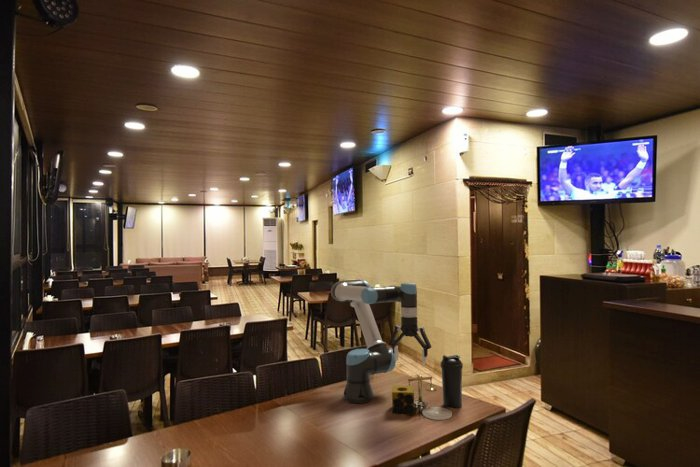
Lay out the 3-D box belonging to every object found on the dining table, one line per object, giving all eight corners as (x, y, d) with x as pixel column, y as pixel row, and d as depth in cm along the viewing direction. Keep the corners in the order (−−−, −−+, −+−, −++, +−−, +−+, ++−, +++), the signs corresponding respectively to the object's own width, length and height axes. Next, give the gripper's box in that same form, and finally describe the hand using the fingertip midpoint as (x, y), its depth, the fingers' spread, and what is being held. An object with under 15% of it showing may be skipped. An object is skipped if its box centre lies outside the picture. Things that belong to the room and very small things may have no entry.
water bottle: (466, 409, 192) (464, 358, 193) (443, 409, 192) (442, 358, 193) (460, 401, 202) (459, 353, 203) (439, 401, 202) (438, 353, 203)
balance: (402, 403, 200) (402, 374, 201) (406, 399, 205) (406, 371, 205) (434, 409, 192) (434, 378, 193) (438, 405, 196) (437, 376, 197)
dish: (418, 416, 184) (418, 413, 184) (428, 407, 195) (428, 404, 195) (446, 422, 177) (446, 419, 177) (455, 412, 188) (455, 409, 188)
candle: (414, 406, 195) (413, 385, 196) (415, 415, 185) (414, 392, 186) (392, 406, 196) (391, 384, 197) (392, 414, 186) (391, 391, 187)
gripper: (381, 315, 197) (382, 360, 196) (432, 319, 186) (433, 367, 184) (387, 313, 204) (388, 357, 203) (437, 316, 192) (438, 363, 191)
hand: (410, 362), depth 194 cm, fingers open, 13 cm apart
